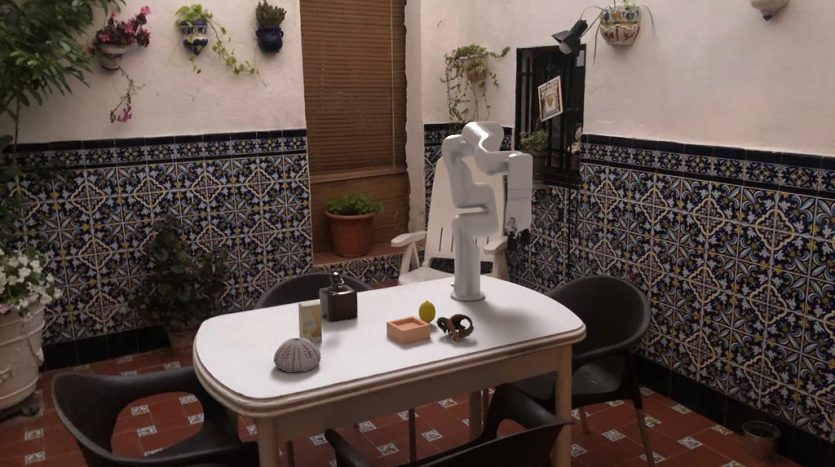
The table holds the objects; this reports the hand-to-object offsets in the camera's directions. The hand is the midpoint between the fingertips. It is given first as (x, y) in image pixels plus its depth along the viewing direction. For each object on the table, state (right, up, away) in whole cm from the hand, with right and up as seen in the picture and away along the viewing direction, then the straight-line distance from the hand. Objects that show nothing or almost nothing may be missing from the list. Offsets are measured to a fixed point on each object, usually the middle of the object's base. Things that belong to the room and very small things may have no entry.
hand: (518, 247), depth 214 cm
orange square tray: (-35, -28, +1) cm, 45 cm away
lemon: (-29, -26, +12) cm, 40 cm away
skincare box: (-65, -29, -1) cm, 71 cm away
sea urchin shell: (-66, -33, -20) cm, 76 cm away
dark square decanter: (-58, -25, +19) cm, 66 cm away
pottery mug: (-20, -28, 0) cm, 35 cm away
